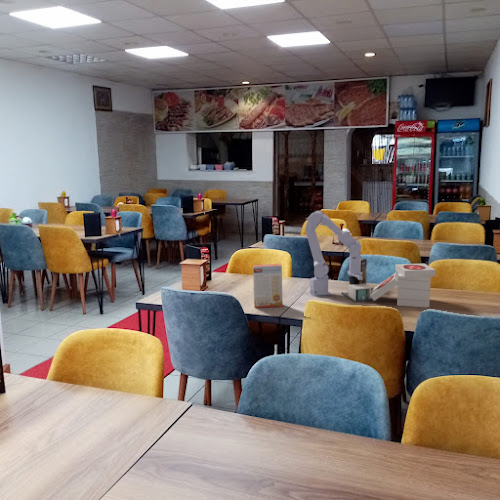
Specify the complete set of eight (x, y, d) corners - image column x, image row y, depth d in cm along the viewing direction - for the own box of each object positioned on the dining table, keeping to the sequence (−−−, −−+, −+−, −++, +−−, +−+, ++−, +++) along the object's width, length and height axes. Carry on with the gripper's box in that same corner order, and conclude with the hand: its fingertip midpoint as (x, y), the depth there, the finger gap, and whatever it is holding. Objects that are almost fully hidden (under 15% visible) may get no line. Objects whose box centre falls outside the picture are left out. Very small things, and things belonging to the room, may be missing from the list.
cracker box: (281, 303, 261) (281, 263, 258) (282, 307, 255) (282, 265, 252) (253, 304, 261) (252, 263, 257) (254, 308, 255) (253, 266, 251)
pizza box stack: (373, 294, 274) (374, 261, 270) (433, 298, 264) (435, 263, 261) (369, 304, 256) (370, 269, 253) (434, 309, 246) (435, 272, 243)
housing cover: (354, 300, 262) (354, 288, 261) (348, 296, 270) (348, 284, 269) (370, 299, 264) (371, 287, 263) (363, 294, 272) (364, 283, 271)
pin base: (354, 302, 261) (354, 297, 260) (341, 293, 277) (341, 289, 277) (373, 300, 263) (373, 296, 262) (359, 292, 279) (359, 287, 279)
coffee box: (359, 290, 282) (359, 261, 280) (348, 289, 286) (349, 260, 283) (366, 287, 290) (367, 258, 287) (356, 285, 293) (356, 257, 290)
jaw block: (358, 299, 263) (358, 290, 262) (354, 297, 267) (355, 288, 266) (365, 299, 264) (365, 289, 263) (362, 297, 268) (362, 287, 267)
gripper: (368, 267, 264) (367, 293, 266) (356, 261, 277) (356, 286, 280) (355, 268, 262) (354, 294, 265) (344, 262, 276) (343, 287, 278)
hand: (354, 290), depth 272 cm, fingers closed
